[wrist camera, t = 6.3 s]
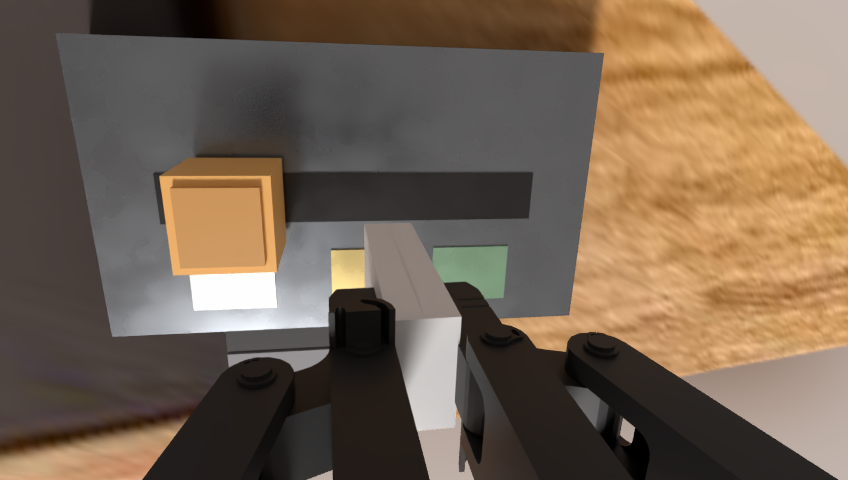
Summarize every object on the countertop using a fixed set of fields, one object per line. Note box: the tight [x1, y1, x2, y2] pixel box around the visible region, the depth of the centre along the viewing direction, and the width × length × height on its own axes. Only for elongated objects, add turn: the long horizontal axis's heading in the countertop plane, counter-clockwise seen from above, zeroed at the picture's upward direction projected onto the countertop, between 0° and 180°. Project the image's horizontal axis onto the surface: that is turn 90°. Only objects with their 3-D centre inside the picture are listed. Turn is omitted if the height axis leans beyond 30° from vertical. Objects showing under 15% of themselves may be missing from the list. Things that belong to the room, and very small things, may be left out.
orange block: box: [159, 158, 287, 275], centre depth 22 cm, size 4×4×4 cm
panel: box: [56, 33, 604, 337], centre depth 26 cm, size 24×14×3 cm, turn 88°
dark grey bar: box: [225, 327, 329, 352], centre depth 30 cm, size 14×2×2 cm, turn 88°
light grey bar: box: [228, 346, 329, 372], centre depth 30 cm, size 14×2×2 cm, turn 88°
